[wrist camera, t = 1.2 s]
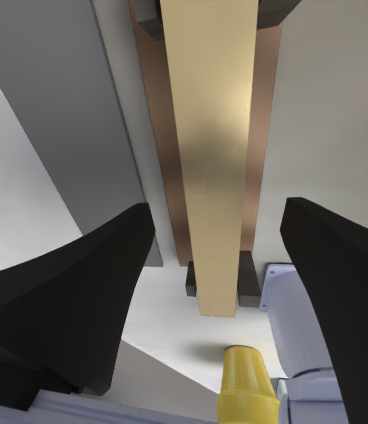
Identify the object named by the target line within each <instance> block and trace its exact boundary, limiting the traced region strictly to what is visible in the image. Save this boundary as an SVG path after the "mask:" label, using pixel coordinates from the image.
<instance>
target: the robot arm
mask: <svg viewBox="0 0 368 424" xmlns="http://www.w3.org/2000/svg"><path fill="white" fill-rule="evenodd" d="M155 231H156V230H155V226H154V222H153V219H152V215H151V211H150V207H149V204H148V202H145V203H137V204H135V205H133V206H131V207H130V208H128V209H126V210H125V211H123V212H122V213H120V214H119V215H117V216H116V217H114V218H113V219H111V220H110V221H108V222H106V223H105V224H103V225H101V226H100V227H98V228H96V229H95V230H93V231H91V232H90V233H88V234H86V235H84V236H82V237H81V238H79V239H77V240H75V241H73V242H71V243H69V244H67V245H64V246H62V247H60V248H58V249H55V250H53V251H51V252H48V253H46V254H44V255H42V256H39V257H37V258H34V259H31V260H29V261H26V262H24V263H21V264H18V265H15V266H13V267H10V268H7V269H4V270H1V271H0V424H221V423H215V422H210V421H205V420H200V419H194V418H189V417H184V416H179V415H173V414H168V413H163V412H158V411H152V410H147V409H142V408H137V407H131V406H126V405H121V404H115V403H110V402H105V401H99V400H94V399H88V398H84V397H78V396H73V395H70V393H76V394H81V393H84V394H90V395H95V396H102V395H103V394H105V393H106V392H107V391H108V390H109V389H110V386H111V381H112V376H113V371H114V367H115V362H116V358H117V353H118V348H119V344H120V340H121V336H122V332H123V328H124V324H125V320H126V317H127V313H128V309H129V306H130V302H131V299H132V296H133V292H134V289H135V286H136V283H137V281H138V278H139V276H140V273H141V271H142V269H143V266H144V264H145V261H146V259H147V257H148V254H149V252H150V249H151V247H152V243H153V240H154V236H155ZM280 233H281V236H282V239H283V242H284V245H285V248H286V250H287V252H288V254H289V257H290V259H291V261H292V263H293V265H289V264H270V265H268V266H267V270H266V275H265V280H264V285H263V289H262V294H261V296H262V297H261V302H260V307H259V310H260V311H261V312H267V314H268V318H269V322H270V326H271V330H272V334H273V338H274V342H275V346H276V350H277V354H278V358H279V361H280V364H281V367H282V369H283V371H284V372H285V374H286V376H287V377H288V378H289V379H286V380H285V384H286V388H287V392H288V393H284V394H283V395H282V397H281V400H280V404H279V408H278V424H368V228H366V227H363V226H361V225H359V224H357V223H355V222H352V221H350V220H348V219H346V218H344V217H342V216H340V215H338V214H336V213H334V212H332V211H330V210H328V209H326V208H324V207H322V206H320V205H318V204H316V203H314V202H312V201H309V200H307V199H305V198H302V197H290V198H287V201H286V205H285V210H284V214H283V218H282V223H281V227H280Z"/></svg>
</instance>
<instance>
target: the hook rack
mask: <svg viewBox="0 0 368 424" xmlns="http://www.w3.org/2000/svg"><path fill="white" fill-rule="evenodd" d="M300 1H301V0H258V13H257V26H256V39H255V53H254V66H253V79H252V92H251V106H250V119H249V132H248V146H247V159H246V172H245V186H244V199H243V212H242V225H241V239H240V252H239V265H238V279H237V290H238V298H239V306H242V307H256V308H259V307H260V302H261V297H262V296H261V292H260V288H259V284H258V280H257V275H256V271H255V267H254V263H253V259H252V252H253V244H254V236H255V229H256V221H257V214H258V206H259V198H260V191H261V183H262V175H263V168H264V160H265V152H266V145H267V137H268V130H269V122H270V114H271V107H272V99H273V91H274V84H275V76H276V68H277V61H278V53H279V46H280V38H281V30H282V23H283V20H284V19H285V18H286V17H287V15H288V14H289V13H290V12H291V11H292V10H293V9H294V8H295V7H296V6H297V5H298V4H299V2H300ZM128 2H129V7H130V12H131V18H132V23H133V28H134V33H135V38H136V43H137V48H138V54H139V59H140V64H141V69H142V74H143V79H144V85H145V90H146V95H147V100H148V105H149V110H150V115H151V121H152V126H153V131H154V136H155V141H156V146H157V152H158V157H159V162H160V167H161V172H162V177H163V182H164V188H165V193H166V198H167V203H168V208H169V213H170V218H171V224H172V229H173V234H174V239H175V244H176V249H177V255H178V260H179V265H180V266H188V272H187V278H186V285H185V286H186V292H187V296H193V297H196V290H197V285H196V277H195V269H194V261H193V253H192V246H191V238H190V230H189V222H188V214H187V206H186V199H185V191H184V183H183V175H182V167H181V160H180V152H179V144H178V136H177V128H176V121H175V113H174V105H173V97H172V89H171V82H170V74H169V66H168V58H167V50H166V43H165V35H164V27H163V19H162V11H161V4H160V0H128Z"/></svg>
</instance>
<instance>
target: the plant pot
mask: <svg viewBox="0 0 368 424" xmlns="http://www.w3.org/2000/svg"><path fill="white" fill-rule="evenodd" d="M279 404H280V401H279V400H278V399H277V397H276V394H275V392H274V389H273V386H272V384H271V381H270V378H269V376H268V373H267V370H266V367H265V365H264V362H263V359H262V356H261V354H260V353H259V351H257V350H256V349H253V348H250V347H245V346H233V347H230V348H228V349H226V351H225V357H224V367H223V376H222V385H221V393H219V394H218V396H217V423H221V424H278V408H279Z"/></svg>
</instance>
